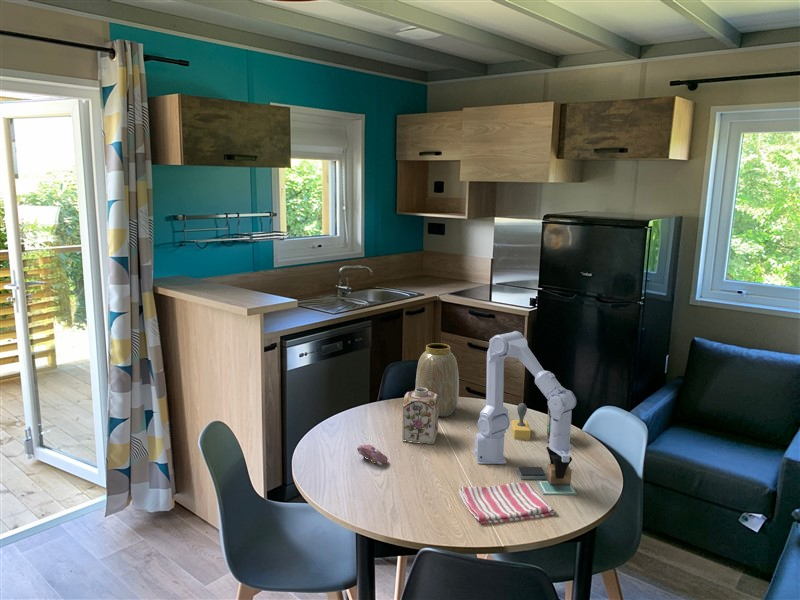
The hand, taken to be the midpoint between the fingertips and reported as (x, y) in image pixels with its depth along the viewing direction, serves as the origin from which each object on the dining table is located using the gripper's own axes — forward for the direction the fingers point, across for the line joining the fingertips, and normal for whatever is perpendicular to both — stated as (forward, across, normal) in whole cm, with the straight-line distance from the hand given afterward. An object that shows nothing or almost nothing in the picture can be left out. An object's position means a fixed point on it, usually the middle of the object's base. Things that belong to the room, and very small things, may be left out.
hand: (557, 474), depth 184 cm
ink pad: (+4, +8, +6) cm, 11 cm away
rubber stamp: (+5, +41, +2) cm, 41 cm away
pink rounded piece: (+5, +18, +56) cm, 59 cm away
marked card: (+4, 0, 0) cm, 4 cm away
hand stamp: (+3, 0, 0) cm, 3 cm away
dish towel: (+5, -10, +17) cm, 20 cm away
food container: (+5, +37, -10) cm, 39 cm away
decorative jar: (+5, +38, +39) cm, 55 cm away
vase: (+5, +64, +31) cm, 71 cm away
